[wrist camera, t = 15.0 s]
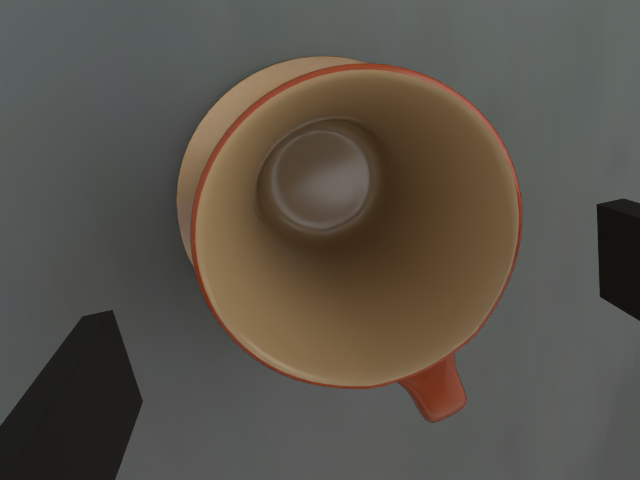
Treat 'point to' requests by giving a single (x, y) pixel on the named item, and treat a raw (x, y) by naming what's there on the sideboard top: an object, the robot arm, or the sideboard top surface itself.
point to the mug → (358, 231)
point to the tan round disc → (225, 116)
